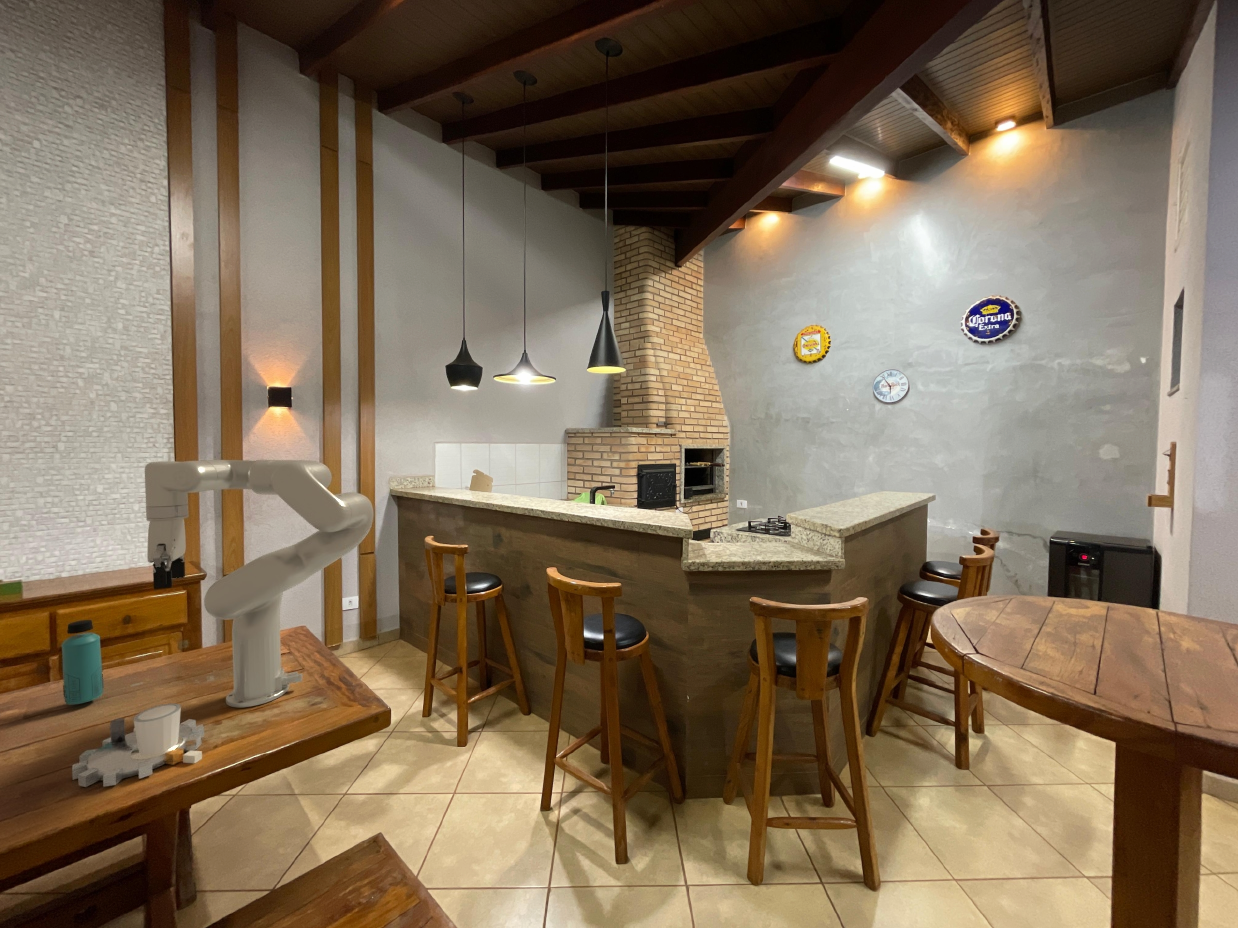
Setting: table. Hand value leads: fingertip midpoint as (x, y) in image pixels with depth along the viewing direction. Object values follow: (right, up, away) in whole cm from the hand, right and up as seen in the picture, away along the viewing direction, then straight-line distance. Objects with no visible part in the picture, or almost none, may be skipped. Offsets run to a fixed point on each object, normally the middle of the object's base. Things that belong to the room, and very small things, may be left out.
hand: (170, 583), depth 120 cm
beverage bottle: (-19, -29, -2) cm, 34 cm away
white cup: (+18, -27, -23) cm, 40 cm away
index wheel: (+14, -29, -22) cm, 39 cm away
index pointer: (+25, -29, -23) cm, 45 cm away
